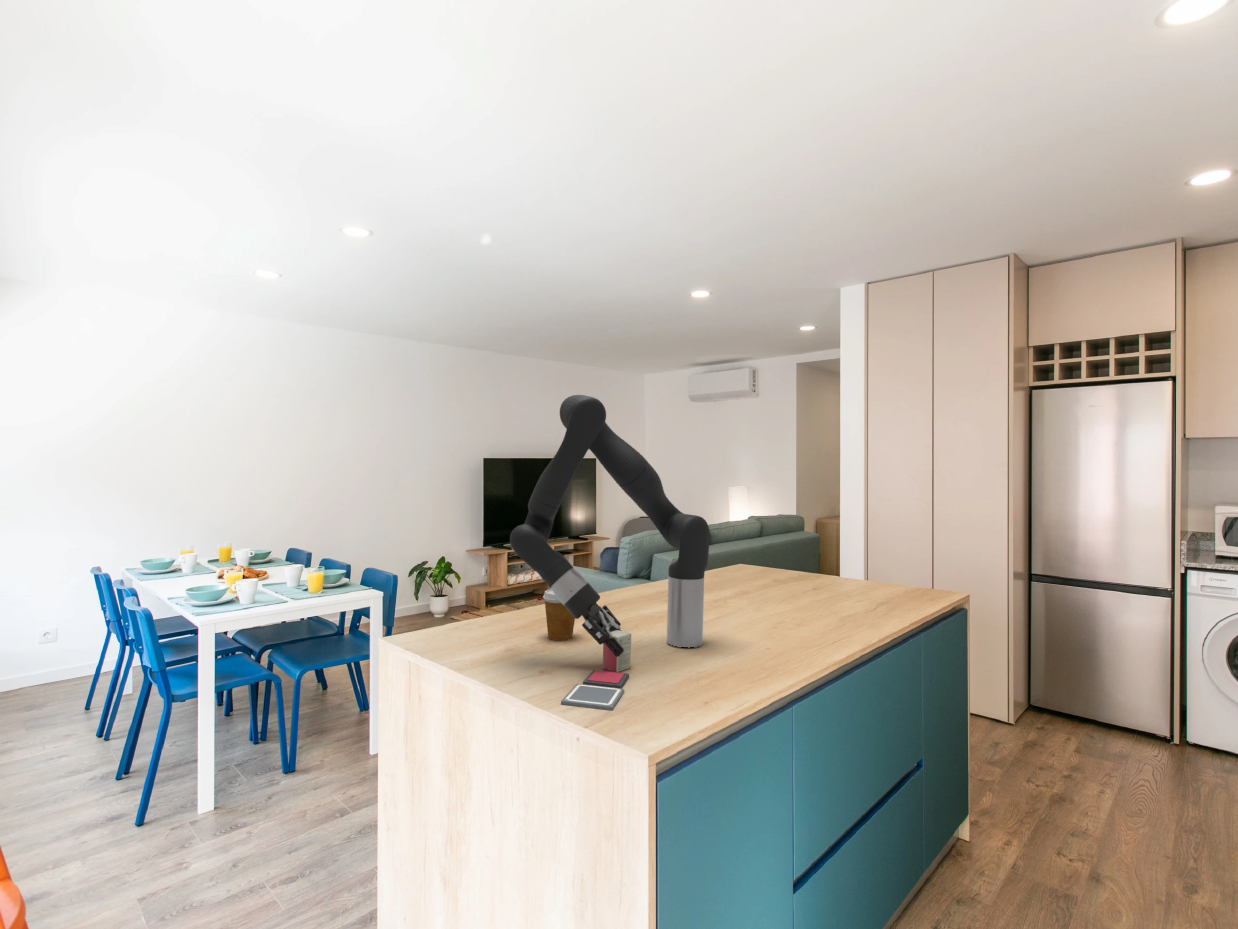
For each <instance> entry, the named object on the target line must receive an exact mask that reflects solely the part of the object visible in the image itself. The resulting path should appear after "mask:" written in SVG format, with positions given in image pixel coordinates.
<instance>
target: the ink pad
mask: <svg viewBox="0 0 1238 929" xmlns="http://www.w3.org/2000/svg"><path fill="white" fill-rule="evenodd" d="M629 678H630V673H629V672H628V673H627V672H620V671H619V672H613V671H610V670H598V669H592V671H591V672H589V674H588V675H587V676H586V678H585V679H583V681H582V684H584V685H593V686H602V687H611V688H620V689H623V687H624V685H625V684H626V682H627V681H628V679H629Z"/></svg>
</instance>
